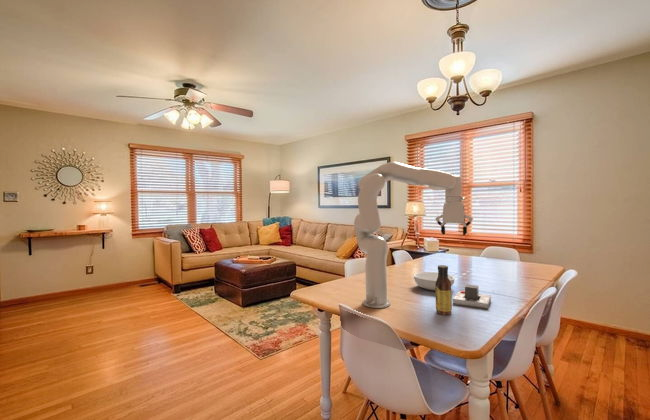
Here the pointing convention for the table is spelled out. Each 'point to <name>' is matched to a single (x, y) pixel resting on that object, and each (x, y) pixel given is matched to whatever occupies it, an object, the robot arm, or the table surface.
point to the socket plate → (472, 300)
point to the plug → (471, 292)
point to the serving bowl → (429, 280)
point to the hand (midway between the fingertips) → (453, 234)
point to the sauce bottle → (443, 291)
